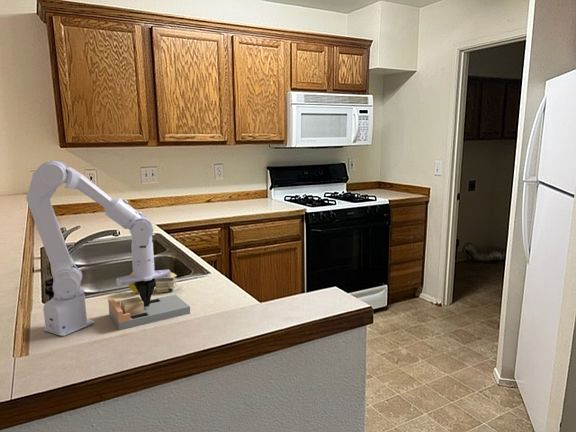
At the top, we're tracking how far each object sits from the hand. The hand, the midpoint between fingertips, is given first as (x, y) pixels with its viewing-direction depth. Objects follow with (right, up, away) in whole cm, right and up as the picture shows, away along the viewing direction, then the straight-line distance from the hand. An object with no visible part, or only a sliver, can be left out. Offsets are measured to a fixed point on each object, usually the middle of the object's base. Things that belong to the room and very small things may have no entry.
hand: (146, 305), depth 120 cm
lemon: (-9, 0, +18) cm, 20 cm away
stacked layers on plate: (0, 0, +21) cm, 21 cm away
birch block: (-3, -1, -2) cm, 4 cm away
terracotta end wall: (-6, -2, -4) cm, 7 cm away
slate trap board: (0, -3, +1) cm, 3 cm away
